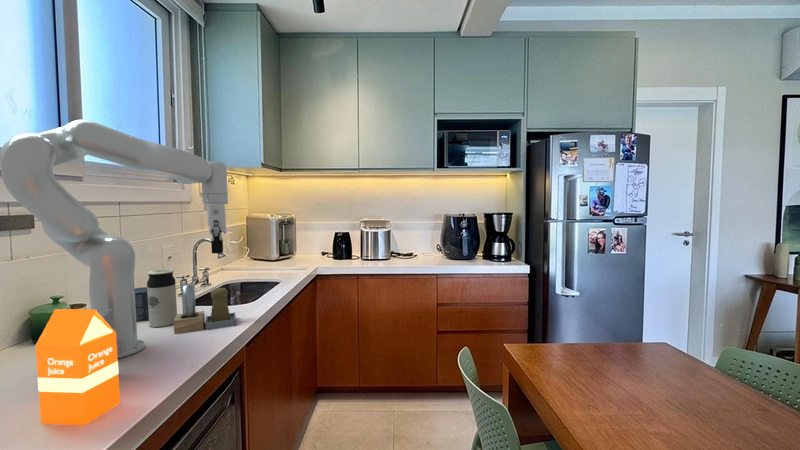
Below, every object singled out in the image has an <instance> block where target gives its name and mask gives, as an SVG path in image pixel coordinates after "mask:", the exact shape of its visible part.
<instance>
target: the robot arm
mask: <svg viewBox="0 0 800 450" xmlns="http://www.w3.org/2000/svg"><path fill="white" fill-rule="evenodd" d="M85 156H90V157H95V158H97V159H100V160H105V161H108V162H112V163H113V164H118V165H121V166H124V167H127V168H130V169H136V170H141V171H156V172H163V173H169V174H171V176H172V178H173V179H174V180H175V182H177V183H179V184H183V185H191V184H192V185H193V184H201V196H202V205H206V213H207V214H206V216H207V225H208V231H209V234H210V235H211V241H210V242H211V243H210V244H211V253H212V254H222V253H223V252H224V242H223V241H224V240H223V236H222V235H225V234H226V233H227V219H226V217H227V215H226V206H225V205H228V204H229V196H228V195H229V193H228V192H229V190H228V175H227V173H228V171H227V165H226V164H225V162H221V161H208V160H206V159H205V158H204V157H201V156H199V155H197V154H193V153H191V152H189V151H185V150H183V149H179V148H176V147H173V146H168V145H164V144H161V143H158V142H157V143H156V142H152V141H149V140H145V139H142V138H138V137H135V136H134V135H131V134H129V133H128V134H127V133H125V132H122V131H119V130H116V129H114V128H111V127H109V126H106V125H103V124H100V123H97V122H95V121H92V120H87V119H76V120H73V121H71V122H69V123H66V124H65V125H63V126H60V127H57V128H53V129H50V130H47V131H43V132H39V133H28V132H27V133H20V134H17V135H15V136H13V137H11V138H9V140H7V142H5V143H4V144H3V145H2V147H1V148H0V159H1V161H0V176H1V178H2V181H3V184H4V186H5V188H6V190H7V192H9V194H10V195H11V196H12V197H13V199H15V201H17V202H18V203H19V204H20V205H21V206H22V207H23V208H25V210H27V211H28V212H29V213H30V214H31V215H33V216H34V218H36V219H37V220H39V221H40V222H41V228H42V230H43V232H44V234H46V235H47V237H48V238H50V239H51V240H52V241H53V242H55V244H57V245H58V246H59V247H61V249H63V250H64V251H66V252H67V253H68V254H70V256H72V257H74V259H76V260H77V261H79V262H80V263H81V264H83V265H84V266H86V267H88V268H89V282H88V286H89V287H88V288H89V290H88V291H89V306H90V310H105V309H112V310H113V330H114V331H115V332H116V343H117V359H120V358H125V357H128V356H131V355H134V354H136V353H139V352H140V351H142V350H143V349H144V348H145V341H144V340H141V339H138V328H137V322H136V307H135V292H134V289H135V268H136V267H135V265H136V252H135V248H134V246H133V245H132V244H131V243H130V242H129V241H128V240H126V239H125V238H123V237H120V236H116V235H109V234H107V232H105V231H104V230H103V229H102V228H101V227H100V223H99V220H98V218H97V216H96V215H95V214H94V213H93V212H92V211H91V210H90V209H89V208H87V206H85V205H84V204H82V202H80V201H79V200H78V199H77V198H75V196H73V195H72V194H71V193H70V192H69V191H68V190H67V189H66V188H64V186H63V185H62V184H61V183H60V182H59V181H58V180H57V178H56V177H55V175H54V171H53V168H54V167H56V166H59V165H62V164H66V163H69V162H72V161H74V160H77V159H80V158H83V157H85ZM222 233H223V234H222Z"/></svg>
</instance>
